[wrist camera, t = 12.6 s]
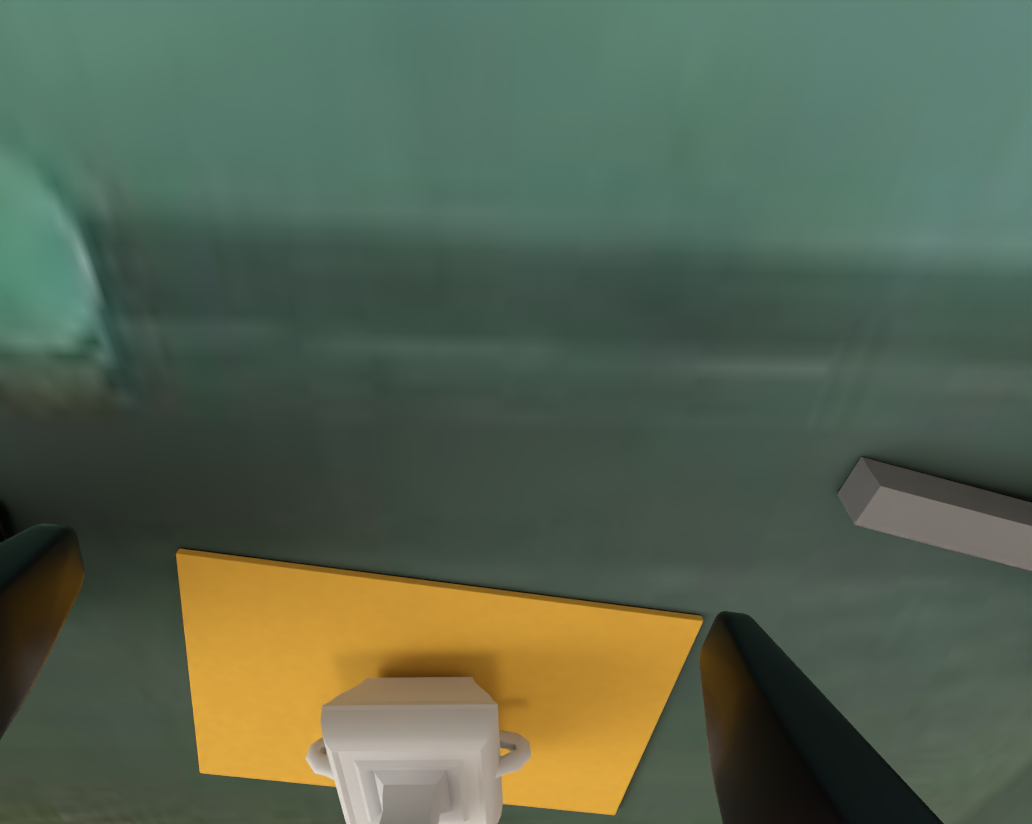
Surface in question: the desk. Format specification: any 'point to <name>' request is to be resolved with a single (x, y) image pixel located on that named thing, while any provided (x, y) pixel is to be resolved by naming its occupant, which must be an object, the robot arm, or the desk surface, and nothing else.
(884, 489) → the submachine gun
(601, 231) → the desk surface
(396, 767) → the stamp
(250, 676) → the cloth
